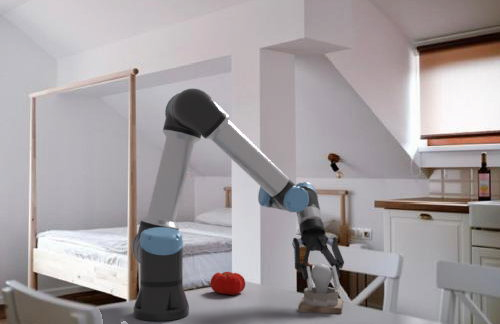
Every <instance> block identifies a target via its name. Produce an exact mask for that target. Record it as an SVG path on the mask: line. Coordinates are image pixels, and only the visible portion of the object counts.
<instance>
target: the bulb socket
mask: <svg viewBox="0 0 500 324" xmlns="http://www.w3.org/2000/svg"><path fill="white" fill-rule="evenodd" d="M343 305H344V298H339V289H338V290H335V287H334V288H333V287H329V286H328V287H327V293H316V287H315V286H313V287H312V291H309V289H308V287H306V288H304V290H303V297H302V298H301V300H300V302H299V304H298V309H297V311H298V313H299V312H300V313H319V314H320V313H321V314H322V313H323V314H342V313H343Z"/></svg>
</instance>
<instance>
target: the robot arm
mask: <svg viewBox="0 0 500 324" xmlns="http://www.w3.org/2000/svg"><path fill="white" fill-rule="evenodd" d="M164 111H165V112H164V113H165V114H164V115H165V120H164V123H163V128H162V132H163V134H164V135H165V141H164V146H163V150H162V152H161V153H162V154H161V157H160V161H159V165H158V166H159V167H158V171H157V174H156V177H155V178H156V179H155V183H154V187H153V191H152V195H151V199H150V202H149V203H150V204H149V207H148V211H147V214H146V216H144V217H142V218H141V219H140V221H139V222H140V223H139V227H138V231H137V233H136V235H135V236H134V239H133V240H132V253H133V255H134V258H135V259H136V260H137V262H138V263H139V269H140V270H139V275H140V276H139V289H138V294H137V296H136V299H135V302H134V305H133V317H134V318H136V319H138V320H142V321H149V322H150V321H151V322H153V321H154V322H163V321H164V322H165V321H173V320H179V319H182V318H185V317H187V316H189V314H190V305H189V303H188V302H189V301H188V298H187V295H186V293H185V289H184V286H183V285H184V283H183V272H184V271H183V265H184V264H183V259H184V258H183V257H184V256H183V251H184V250H183V247H184V240H183V234H182V232H181V231H180V227H179V225H178V224H177V223H178V222H176V220H177V217H178V216H177V215H178V211H179V208H180V204H181V199H182V194H183V192H184V188H185V183H186V178H187V175H188V171H189V167H190V164H191V163H190V161H191V158H192V154H193V149H194V147H195V146H194V145H195V144H196V143H199V141H201V137H203V138H204V139H205V140H208V139H209V140H211V141H212V142H213V143H214V144H215V145H216V146H217V147H218V148H219V149H220V150H222V152H224V154H226V155H227V156H228V157H229V158H230V160H232V161H233V162H234V163H236V165H238V167H240V168H241V170H243V171H244V172H245V174H247V175H248V176H249V177H250V178H251V179H252V180H253V181H254V182H256V183H257V185H259V186H260V188H259V190H258V195H257V200H258V204H259V205H260V206H261V207H265V208H270V209H271V208H272V209H277V210H281V211H287V212H289V213H296V217H297V221H298V223H297V224H298V227H299V233H300V238H296V237H293V239H292V243H291V244H292V247H293V250H294V252H293V254H294V270H297V271H298V270H300V272H301V274H302V278H303V280H306V283H307V288H308V289H309V291H312V287H314V282H313V280H312V278H311V268H310V266H309V265H308V261H309V257H310V253H311V252H314V251H316V252H320V253H321V255H322V256H323V257H324V258H325V259H326V260H327V262H328V264H329V266H330V267H331V271H332V282H333V285H334V289H335V290H338V291H339V289H340V280H339V279H341V278H340V277H341V271H340V269H343V267H344V265H345V260H344V257H343V256H342V252H341V250H340V247H339V245H338V238H337V237H335V236H334V237H333V238H331V237H328V235H327V234H326V229H325V225H324V221H323V216H322V213H321V207H320V204H319V196H318V193H317V191H316V188H315V186H314V185H313V183H310V182H307V181H304V182H299V183H297V184H295V183H294V182H293V181H292V180H291V179H290V178H289V177H288V176H287V175H286V174H285V173H284V172H283V171H282V170H281V169H280V168H279V167H278V166H277V165H276V164H275V163H274V162H272V160H271V159H269V158H268V156H266V154H264V153H263V152H262V151H261V150H260V149H259V148H258V147H257V146H256V145H255V144H254V143H253V142H252V141H251V140H250V139H249V138H248V137H247V136H246V135H245V134H244V133H243V132H242V131H241V130H240V129H239V128H237V127H236V125H235V124H234V123H233V122H232V121H230V119H229V114H228V113H227V112H226V111H225V110H224V109H223V108H222V107H221V106H220V104H218V103H217V102H216V101H215V99H213V98H212V97H211V95H209V94H208V93H207V92H205V91H204V90H202V89H199V88H187V89H184V90H182V91H181V92H178V93H176V94H175V95H172V97H171V98H170V100H168V102H167V104H166V107H165V110H164ZM327 243H328V244H329V246H330V247H331V250H332V251H331V250H330V249H329V247H328V245H327ZM301 244H302V246H304V247H305V248H306V249H305V252H304V253H305V254H304V257H303V261H302V263H301V255H300V254H301V252H300V251H301V250H300V246H301ZM332 253H333V254H332Z"/></svg>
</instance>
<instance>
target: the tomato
mask: <svg viewBox="0 0 500 324" xmlns="http://www.w3.org/2000/svg"><path fill="white" fill-rule="evenodd" d="M209 283H210V288H211V289H212V291H214V292H215V293H218V294H221V295H229V296H234V295H238V294H240V293H242V292H243V291H244V289H245V287H246V280H245V278H244V277H243V275H241V273H238V272H231V271H224V272H223V271H222V272H215V274H213V276H211V279H210V282H209Z"/></svg>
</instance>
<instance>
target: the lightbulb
mask: <svg viewBox="0 0 500 324" xmlns="http://www.w3.org/2000/svg"><path fill="white" fill-rule="evenodd" d="M331 270H332V268H330V267H329V265H327V264H323V263H318V264H316V265H315V266H314V267H312V270H310V272H311V278H312V283H313V285H314V287H316V293H327V287H329V284H330V283H331V280H333V277H332V271H331Z"/></svg>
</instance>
